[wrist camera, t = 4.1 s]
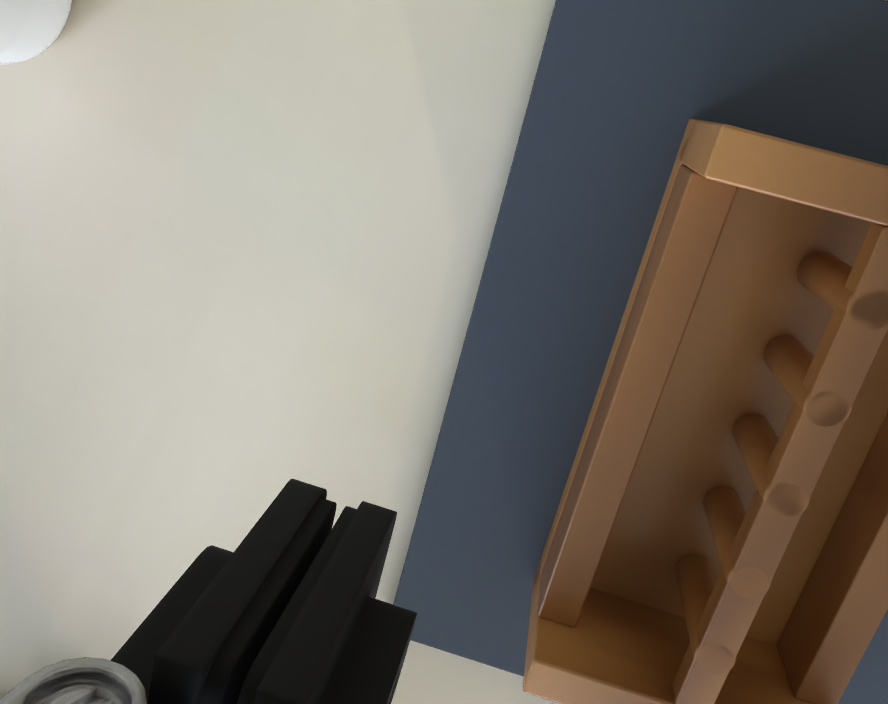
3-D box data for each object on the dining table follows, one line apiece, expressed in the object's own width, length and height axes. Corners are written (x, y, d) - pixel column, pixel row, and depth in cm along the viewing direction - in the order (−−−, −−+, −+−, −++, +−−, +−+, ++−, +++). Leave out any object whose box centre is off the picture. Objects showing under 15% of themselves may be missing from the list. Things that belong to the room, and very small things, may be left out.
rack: (532, 581, 27) (521, 692, 22) (689, 117, 22) (722, 122, 17) (788, 661, 27) (837, 795, 22) (1013, 202, 21) (1151, 234, 16)
